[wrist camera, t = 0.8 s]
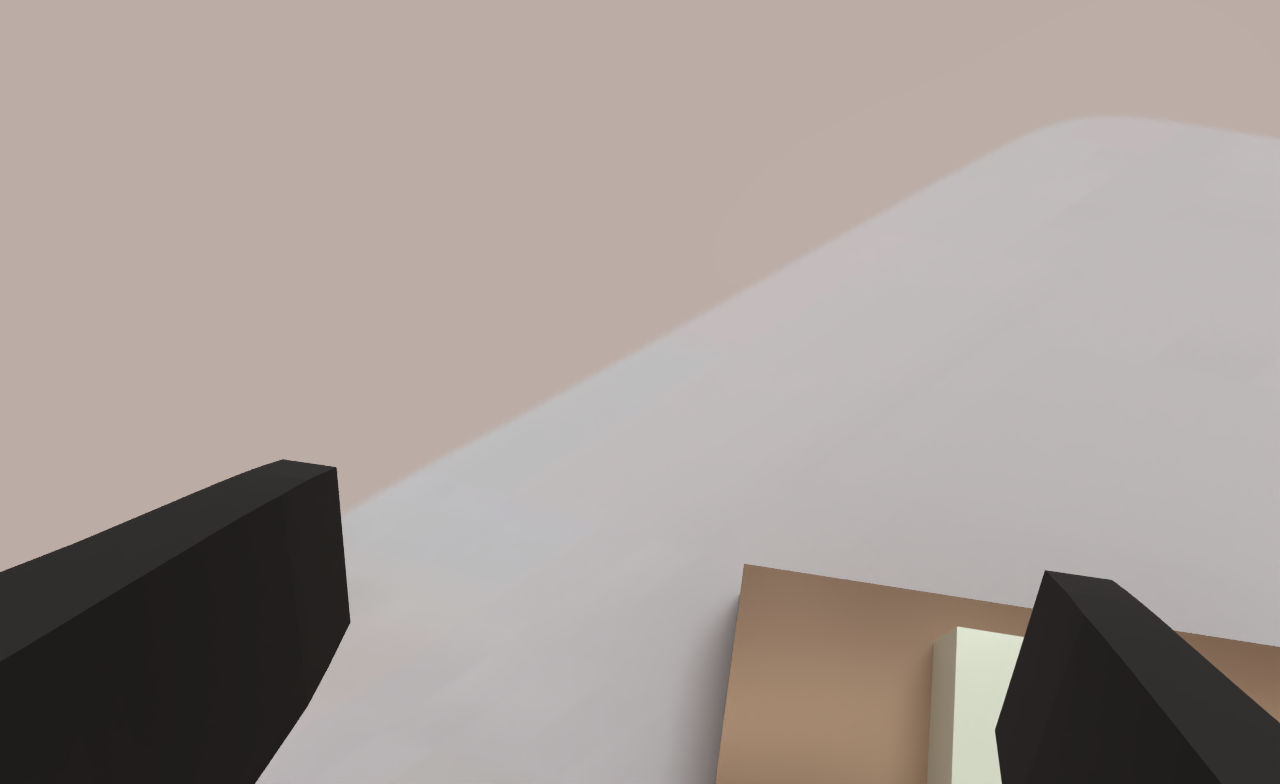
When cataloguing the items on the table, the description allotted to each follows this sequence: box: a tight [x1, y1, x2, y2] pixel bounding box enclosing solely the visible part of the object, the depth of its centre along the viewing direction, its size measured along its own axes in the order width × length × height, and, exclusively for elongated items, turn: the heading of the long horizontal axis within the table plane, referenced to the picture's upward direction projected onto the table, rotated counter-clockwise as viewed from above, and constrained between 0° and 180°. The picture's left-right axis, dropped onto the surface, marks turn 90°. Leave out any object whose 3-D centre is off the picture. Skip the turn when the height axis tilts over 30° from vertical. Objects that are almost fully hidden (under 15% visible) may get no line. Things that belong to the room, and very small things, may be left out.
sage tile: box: [927, 627, 1024, 784], centre depth 16 cm, size 4×4×2 cm
